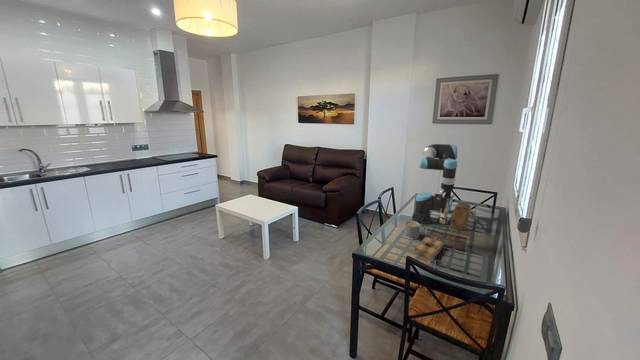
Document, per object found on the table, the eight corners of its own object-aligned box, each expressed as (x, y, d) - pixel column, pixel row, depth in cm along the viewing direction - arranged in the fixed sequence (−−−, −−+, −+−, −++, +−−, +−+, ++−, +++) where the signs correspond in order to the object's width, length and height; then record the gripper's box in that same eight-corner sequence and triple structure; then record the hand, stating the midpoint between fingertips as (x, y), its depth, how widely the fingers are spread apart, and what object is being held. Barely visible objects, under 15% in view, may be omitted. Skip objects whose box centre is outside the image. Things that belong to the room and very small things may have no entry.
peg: (438, 222, 175) (441, 198, 169) (440, 220, 178) (443, 196, 172) (444, 224, 172) (448, 199, 167) (446, 222, 175) (450, 198, 170)
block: (467, 227, 198) (471, 204, 192) (465, 231, 193) (469, 207, 187) (452, 224, 205) (455, 200, 199) (449, 227, 199) (453, 204, 193)
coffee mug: (402, 237, 187) (403, 224, 184) (406, 231, 195) (407, 219, 192) (421, 242, 180) (422, 229, 177) (424, 236, 187) (425, 223, 184)
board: (414, 252, 168) (415, 247, 166) (425, 241, 180) (425, 236, 179) (433, 259, 160) (434, 254, 159) (442, 247, 172) (443, 242, 171)
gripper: (449, 187, 158) (445, 221, 165) (457, 181, 170) (453, 213, 177) (437, 185, 163) (433, 218, 170) (445, 179, 175) (441, 210, 182)
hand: (443, 215), depth 173 cm, fingers closed on peg, 4 cm apart
